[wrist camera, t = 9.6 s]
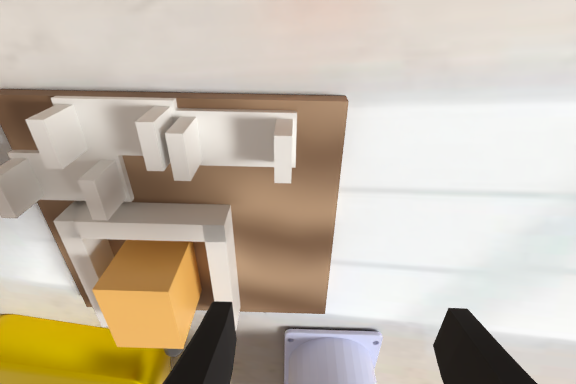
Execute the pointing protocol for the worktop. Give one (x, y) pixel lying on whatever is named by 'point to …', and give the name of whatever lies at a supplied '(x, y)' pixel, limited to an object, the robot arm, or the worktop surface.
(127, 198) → the clip
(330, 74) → the worktop surface
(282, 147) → the clip
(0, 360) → the element tile
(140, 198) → the board
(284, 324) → the worktop surface
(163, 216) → the frame
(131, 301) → the block
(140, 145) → the clip
